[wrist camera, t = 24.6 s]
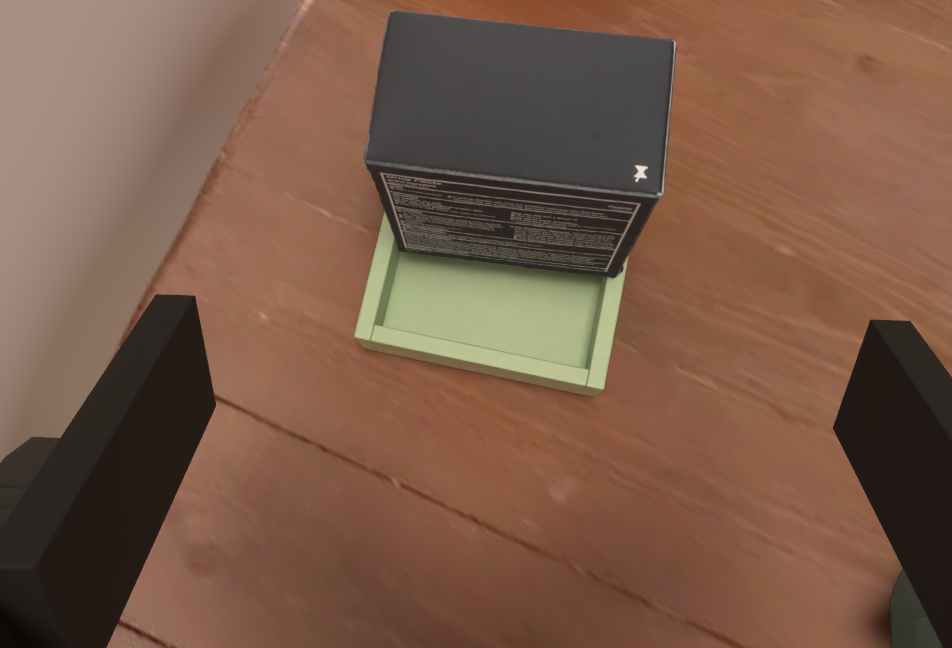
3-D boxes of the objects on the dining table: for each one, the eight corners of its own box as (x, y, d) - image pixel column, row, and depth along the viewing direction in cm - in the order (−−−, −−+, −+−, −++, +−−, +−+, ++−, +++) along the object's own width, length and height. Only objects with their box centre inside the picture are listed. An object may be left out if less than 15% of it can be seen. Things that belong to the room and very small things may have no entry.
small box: (633, 149, 39) (685, 29, 29) (620, 281, 38) (670, 205, 28) (413, 124, 40) (387, -4, 29) (393, 254, 38) (359, 168, 28)
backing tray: (363, 348, 41) (353, 337, 38) (432, 63, 44) (428, 31, 41) (595, 397, 40) (603, 390, 37) (649, 104, 43) (662, 75, 40)
